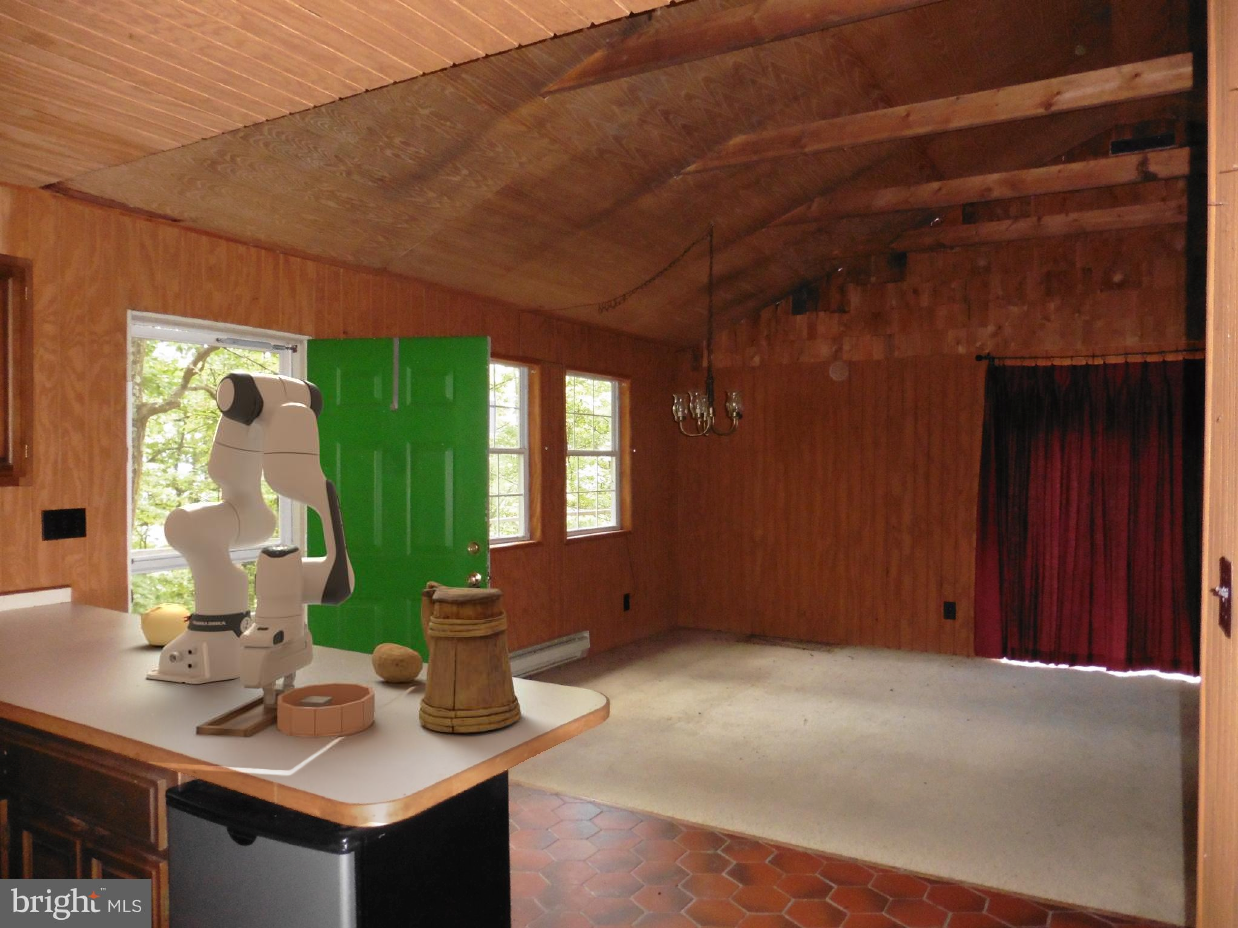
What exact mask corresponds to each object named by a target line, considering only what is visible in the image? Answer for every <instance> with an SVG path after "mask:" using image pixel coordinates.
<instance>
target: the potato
mask: <svg viewBox="0 0 1238 928" xmlns="http://www.w3.org/2000/svg"><path fill="white" fill-rule="evenodd" d="M371 655H372V656H371V664H372V666H373V668H374V672H375V674H376V675H377V676H378V677H380V678H382V679H383V680H384V681H386V682H388V683H394V684H395V683H410V682H411V681H412V680H414V679H416V678H418V677H419V675H420V674H421V672H422V670H423V669H424V668H423V666H424V661H423V658H422V656H421V654H420V653H419V652H418V651H415V650H413V649H412V648H409V647H407V646H405V645H404V646H403V645H400V644H396V643H391V642H387V643H386V642H385V643H382V644H378V645H377V646H376V647H375V649H374V651H373V653H372V654H371Z"/></svg>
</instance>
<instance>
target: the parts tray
mask: <svg viewBox="0 0 1238 928" xmlns="http://www.w3.org/2000/svg"><path fill="white" fill-rule="evenodd" d="M275 723H277V708H269V707H263V694H261V695H259V696H257V697H255V698H252V699H250V700H248V701H246V702H243V703H242V704H240V705H239V706H236V707H234V708H232V709H230V710H228V711H226V712H224V713H221V714H220V715H218V716H216V717H213V718H211V719H210V720H208V721H205V722H203V723H201V724H199V725H197V726H196V727H195V730H196V731H195V734H196V735H206V736H207V735H208V736H223V737H224V736H225V737H238V738H239V737H240V738H250V737H252V736H254V735H255V734H257V733H259V732H261V731H262V730H265V729H266V728H268V727H270V726H272V725H273V724H275Z"/></svg>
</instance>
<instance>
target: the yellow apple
mask: <svg viewBox="0 0 1238 928" xmlns="http://www.w3.org/2000/svg"><path fill="white" fill-rule="evenodd" d="M191 614H192V613H191V612H190V611H189V610H188V607H187V605H186V606H185V605H183V604H181V603H171V602H170V603H168V602H167V603H161V604H159V605H157V606H155V607H153V608H150V609H148V610H145V611H144V612H142V613H141V614H140V629H141V630H142V633H143V635H144V638H145V640H146V641H147V643H148V644H149V645H150V646H166V645H167V644H169V643H170V642H171V641H173V640H174V639H175V638H176V637H178V636H179V635H180V634H182V633H183V632H184V631H185V630H187V629H188V628H187V627H188V624H189V621H187V622H183V621H184V620H186V619H187V618H183V617H186V616H190V615H191Z"/></svg>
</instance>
